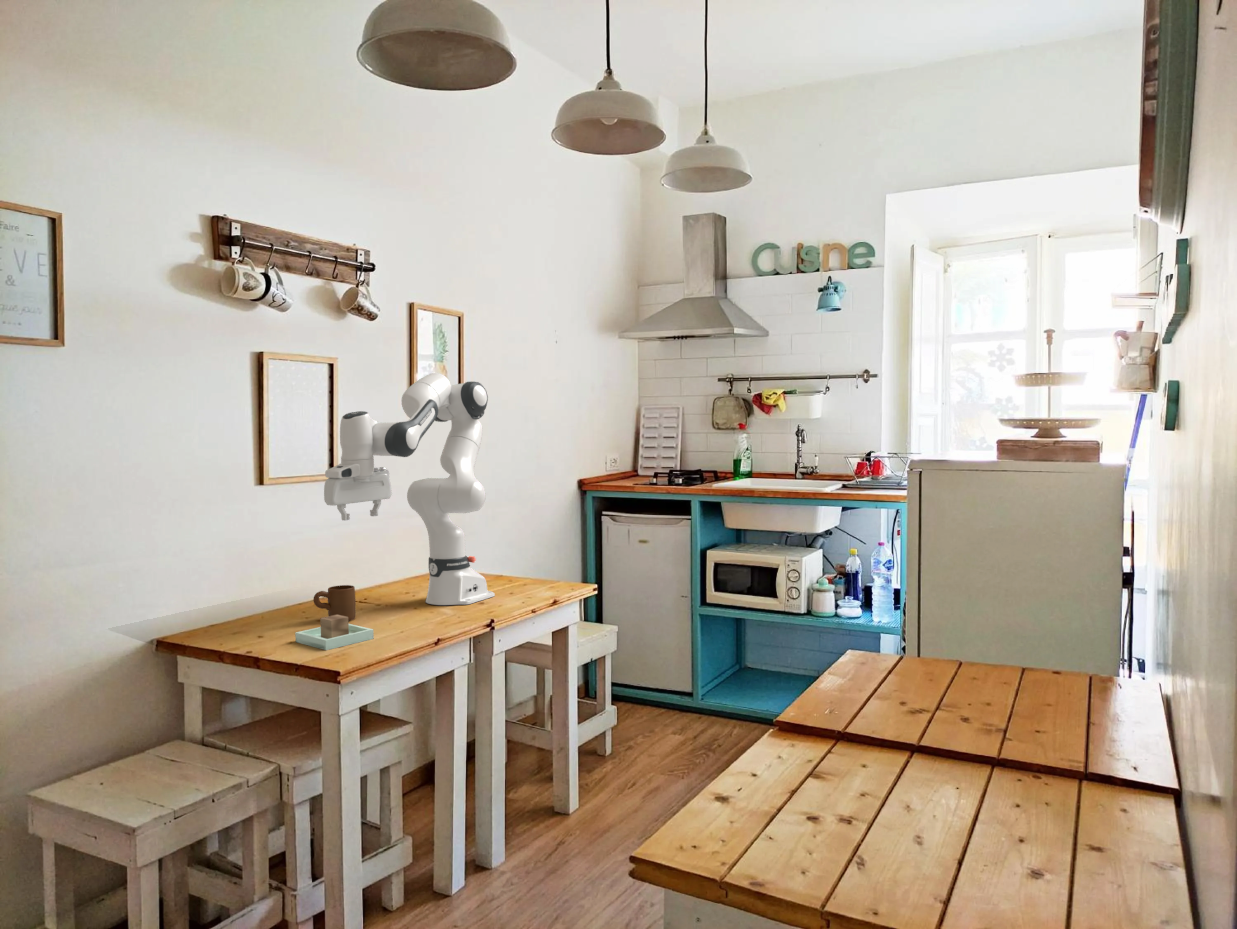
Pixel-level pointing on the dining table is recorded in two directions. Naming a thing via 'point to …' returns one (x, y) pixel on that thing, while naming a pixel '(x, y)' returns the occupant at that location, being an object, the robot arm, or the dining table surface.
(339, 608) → the mug
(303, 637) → the tray
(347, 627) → the block
